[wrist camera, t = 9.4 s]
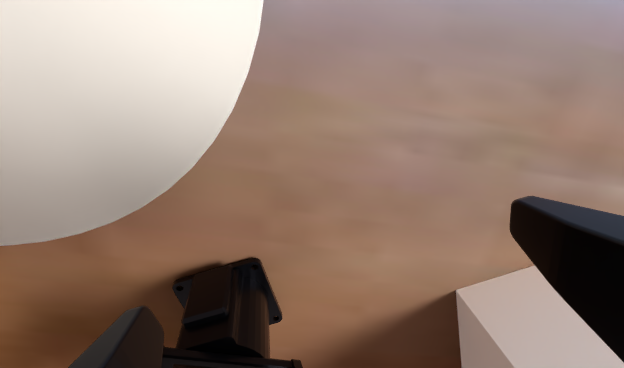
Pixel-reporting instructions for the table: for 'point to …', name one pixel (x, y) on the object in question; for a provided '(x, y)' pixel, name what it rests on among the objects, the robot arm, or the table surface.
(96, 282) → the table surface
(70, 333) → the table surface
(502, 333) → the milk
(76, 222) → the lid
